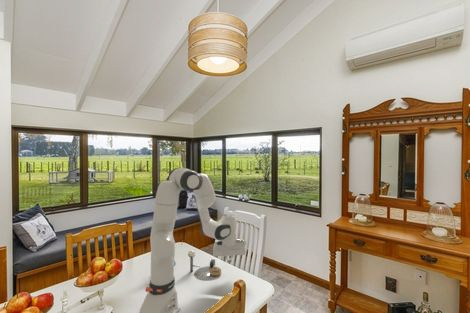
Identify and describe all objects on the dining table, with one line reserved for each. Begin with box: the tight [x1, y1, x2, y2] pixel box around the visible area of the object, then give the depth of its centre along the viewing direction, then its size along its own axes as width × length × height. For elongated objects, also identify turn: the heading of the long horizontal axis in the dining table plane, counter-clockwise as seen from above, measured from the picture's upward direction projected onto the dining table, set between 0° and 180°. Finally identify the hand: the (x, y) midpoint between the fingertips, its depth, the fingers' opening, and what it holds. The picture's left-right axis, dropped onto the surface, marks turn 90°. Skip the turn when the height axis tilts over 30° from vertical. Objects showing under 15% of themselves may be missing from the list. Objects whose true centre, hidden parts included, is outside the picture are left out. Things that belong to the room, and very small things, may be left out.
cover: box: [210, 266, 222, 278], centre depth 144 cm, size 7×7×4 cm
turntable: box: [193, 258, 221, 282], centre depth 147 cm, size 20×17×4 cm
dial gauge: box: [187, 250, 201, 273], centre depth 147 cm, size 8×4×15 cm, turn 78°
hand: (229, 262), depth 142 cm, fingers closed
